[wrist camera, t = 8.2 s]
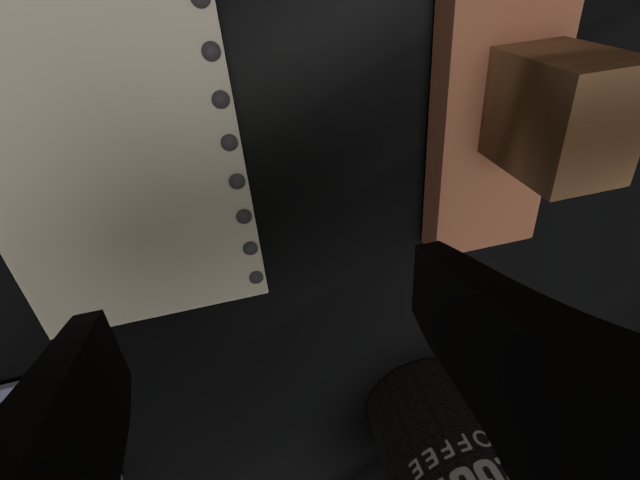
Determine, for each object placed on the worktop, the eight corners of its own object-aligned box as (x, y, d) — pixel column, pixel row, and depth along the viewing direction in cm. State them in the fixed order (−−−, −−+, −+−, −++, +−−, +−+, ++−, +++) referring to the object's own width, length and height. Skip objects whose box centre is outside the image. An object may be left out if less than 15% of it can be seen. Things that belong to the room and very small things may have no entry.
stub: (513, 222, 23) (602, 296, 18) (421, 241, 22) (487, 324, 17) (581, -135, 15) (769, -176, 10) (442, -125, 14) (574, -164, 9)
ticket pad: (264, 272, 21) (268, 294, 20) (58, 315, 20) (49, 341, 18) (194, -106, 13) (194, -112, 12) (-155, -80, 12) (-198, -83, 10)
